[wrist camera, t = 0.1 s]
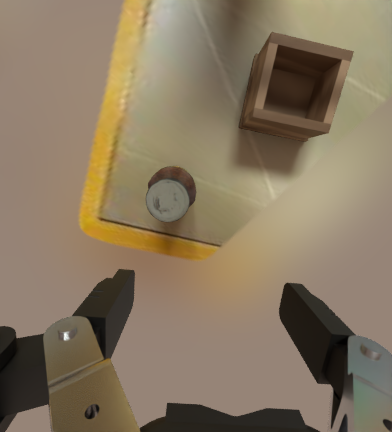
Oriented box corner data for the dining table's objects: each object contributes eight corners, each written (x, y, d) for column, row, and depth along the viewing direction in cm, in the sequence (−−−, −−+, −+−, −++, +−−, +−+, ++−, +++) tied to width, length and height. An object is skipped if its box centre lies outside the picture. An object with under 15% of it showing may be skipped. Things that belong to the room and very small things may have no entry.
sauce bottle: (154, 193, 38) (116, 218, 19) (165, 160, 37) (137, 153, 18) (187, 205, 39) (183, 243, 20) (199, 174, 38) (208, 181, 19)
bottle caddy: (254, 56, 34) (270, 28, 27) (324, 72, 35) (356, 49, 28) (238, 127, 36) (249, 118, 29) (304, 141, 37) (329, 135, 30)
